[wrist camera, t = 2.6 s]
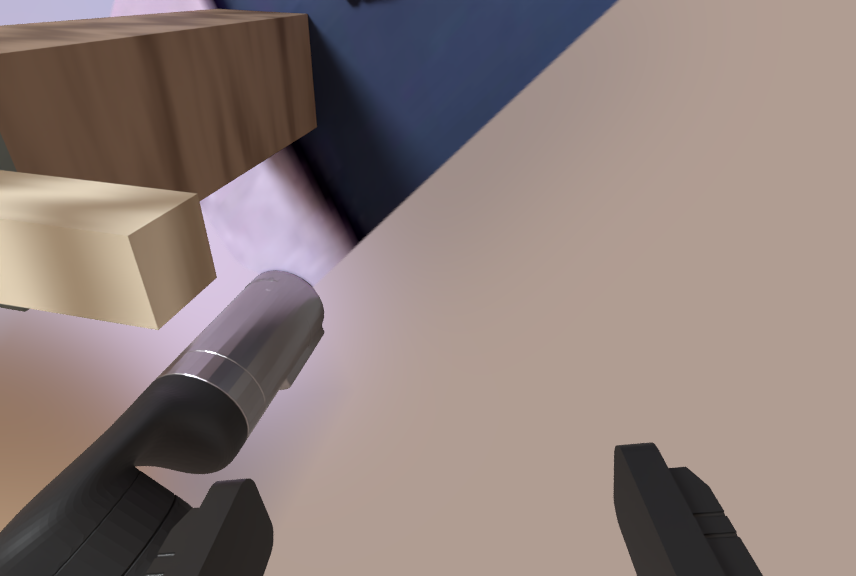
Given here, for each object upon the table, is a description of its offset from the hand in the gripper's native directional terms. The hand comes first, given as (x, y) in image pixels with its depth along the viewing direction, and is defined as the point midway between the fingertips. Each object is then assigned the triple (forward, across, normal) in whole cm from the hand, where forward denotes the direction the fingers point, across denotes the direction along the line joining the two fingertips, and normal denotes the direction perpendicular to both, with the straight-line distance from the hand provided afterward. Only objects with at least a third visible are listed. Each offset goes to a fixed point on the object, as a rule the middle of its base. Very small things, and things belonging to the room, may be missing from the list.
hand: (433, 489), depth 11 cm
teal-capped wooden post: (+38, -14, +9) cm, 42 cm away
